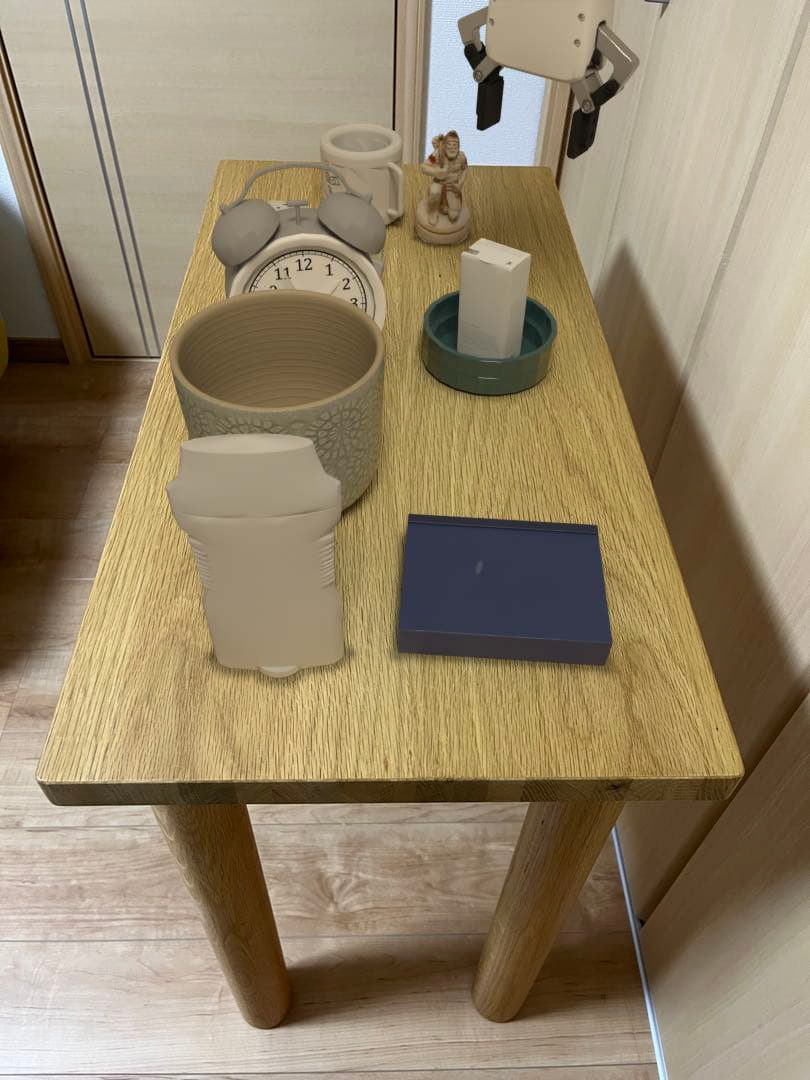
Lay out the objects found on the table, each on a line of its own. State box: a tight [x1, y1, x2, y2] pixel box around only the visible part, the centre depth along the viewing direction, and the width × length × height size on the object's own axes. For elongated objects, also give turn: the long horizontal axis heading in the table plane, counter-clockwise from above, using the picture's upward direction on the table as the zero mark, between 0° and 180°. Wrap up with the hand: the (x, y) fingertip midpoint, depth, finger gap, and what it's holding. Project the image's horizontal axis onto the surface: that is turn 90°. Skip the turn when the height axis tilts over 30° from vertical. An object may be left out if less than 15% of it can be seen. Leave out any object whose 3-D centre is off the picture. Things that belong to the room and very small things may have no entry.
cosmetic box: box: [457, 237, 532, 359], centre depth 86 cm, size 6×4×12 cm
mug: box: [319, 123, 405, 226], centre depth 109 cm, size 14×11×10 cm
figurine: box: [414, 129, 470, 246], centre depth 104 cm, size 7×7×15 cm
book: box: [397, 513, 613, 667], centre depth 66 cm, size 16×12×3 cm
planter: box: [168, 289, 386, 512], centre depth 71 cm, size 17×17×15 cm
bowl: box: [421, 289, 559, 396], centre depth 89 cm, size 14×14×4 cm
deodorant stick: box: [164, 434, 345, 679], centre depth 55 cm, size 11×4×22 cm, turn 93°
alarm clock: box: [210, 161, 388, 332], centre depth 80 cm, size 16×9×22 cm, turn 102°
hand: (531, 139), depth 76 cm, fingers open, 9 cm apart
